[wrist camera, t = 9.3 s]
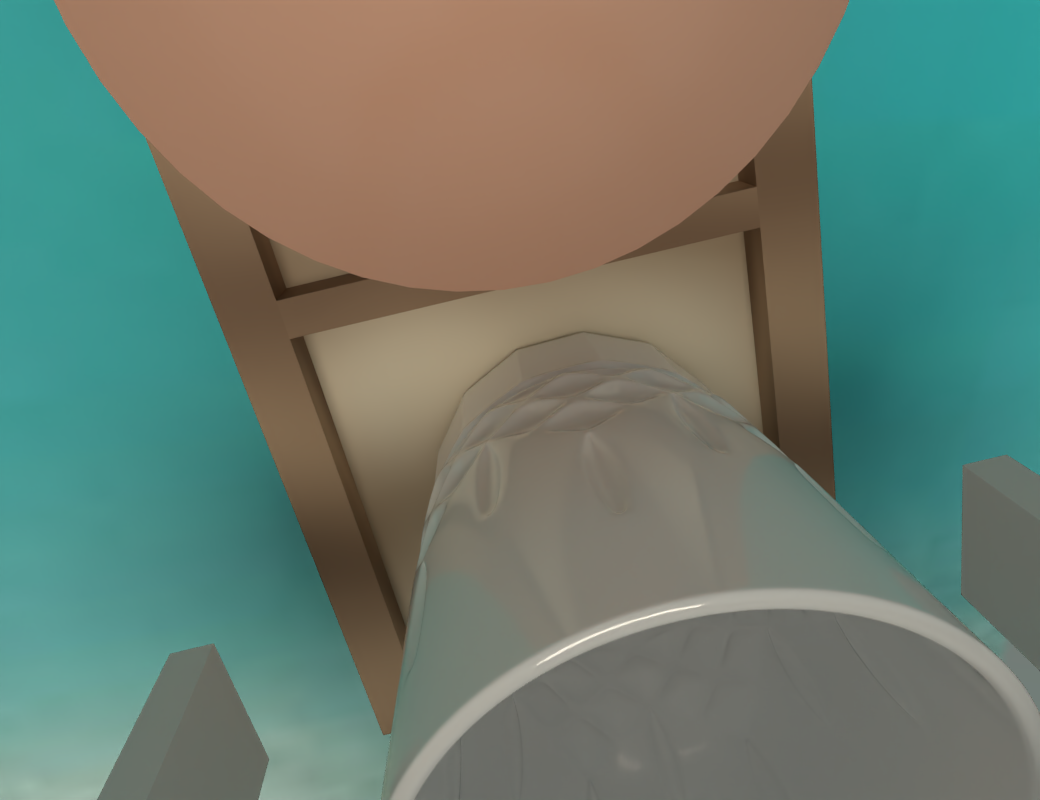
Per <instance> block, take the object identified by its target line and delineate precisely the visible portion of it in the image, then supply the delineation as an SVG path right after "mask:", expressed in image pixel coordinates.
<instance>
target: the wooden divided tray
mask: <svg viewBox="0 0 1040 800" xmlns="http://www.w3.org/2000/svg"><path fill="white" fill-rule="evenodd" d="M146 140H147V143H148V145H149V148H150V150H151V153H152V155H153V158H154V160H155V163H156V165H157V168H158V170H159V173H160V175H161V178H162V180H163V183H164V185H165V188H166V190H167V193H168V195H169V198H170V200H171V203H172V205H173V208H174V210H175V213H176V215H177V218H178V220H179V223H180V225H181V228H182V230H183V233H184V235H185V238H186V240H187V243H188V246H189V248H190V251H191V253H192V256H193V258H194V261H195V263H196V266H197V268H198V271H199V273H200V276H201V278H202V281H203V283H204V286H205V288H206V291H207V293H208V296H209V298H210V301H211V303H212V306H213V308H214V311H215V313H216V316H217V318H218V321H219V323H220V326H221V328H222V331H223V333H224V336H225V338H226V341H227V343H228V346H229V348H230V351H231V354H232V356H233V359H234V361H235V364H236V366H237V369H238V371H239V374H240V376H241V379H242V381H243V384H244V386H245V389H246V391H247V394H248V396H249V399H250V401H251V404H252V406H253V409H254V411H255V414H256V416H257V419H258V421H259V424H260V426H261V429H262V431H263V434H264V436H265V439H266V441H267V444H268V446H269V449H270V451H271V454H272V457H273V459H274V462H275V464H276V467H277V469H278V472H279V474H280V477H281V479H282V482H283V484H284V487H285V489H286V492H287V494H288V497H289V499H290V502H291V504H292V507H293V509H294V512H295V514H296V517H297V519H298V522H299V524H300V527H301V529H302V532H303V534H304V537H305V539H306V542H307V544H308V547H309V549H310V552H311V554H312V557H313V559H314V562H315V565H316V567H317V570H318V572H319V575H320V577H321V580H322V582H323V585H324V587H325V590H326V592H327V595H328V597H329V600H330V602H331V605H332V607H333V610H334V612H335V615H336V617H337V620H338V622H339V625H340V627H341V630H342V632H343V635H344V637H345V640H346V642H347V645H348V647H349V650H350V652H351V655H352V657H353V660H354V662H355V665H356V668H357V670H358V673H359V675H360V678H361V680H362V683H363V685H364V688H365V690H366V693H367V695H368V698H369V700H370V703H371V705H372V708H373V710H374V713H375V715H376V718H377V720H378V723H379V725H380V728H381V730H382V733H383V735H386V734H390V733H391V729H392V722H393V716H394V709H395V702H396V695H397V688H398V681H399V674H400V667H401V661H402V654H403V647H404V640H405V633H406V626H407V619H408V612H409V605H410V598H411V592H412V586H413V580H414V575H415V571H416V567H417V563H418V558H419V554H420V547H421V538H422V530H423V526H424V521H425V517H426V513H427V509H428V505H429V501H430V497H431V494H432V490H433V487H434V483H435V474H436V466H437V457H438V451H439V448H440V446H441V444H442V442H443V439H444V437H445V435H446V433H447V431H448V428H449V426H450V424H451V422H452V420H453V417H454V415H455V413H456V411H457V408H458V406H459V404H460V402H461V400H462V397H463V395H464V393H465V392H466V391H468V390H469V389H470V388H471V387H472V386H474V385H475V384H476V383H477V382H478V381H480V380H481V379H482V378H483V377H484V376H486V375H487V374H488V373H489V372H491V371H492V370H493V369H494V368H495V367H497V366H498V365H499V364H500V363H501V362H503V361H504V360H505V359H506V358H507V357H509V356H510V355H511V354H512V353H514V352H515V351H516V350H519V349H522V348H526V347H529V346H533V345H537V344H541V343H544V342H548V341H552V340H556V339H559V338H563V337H567V336H570V335H574V334H578V333H582V332H587V333H592V334H598V335H604V336H610V337H616V338H622V339H628V340H633V341H639V342H645V343H650V344H652V345H653V346H654V347H656V348H657V349H658V350H660V351H661V352H662V353H664V354H665V355H666V356H668V357H669V358H670V359H672V360H673V361H674V362H676V363H677V364H678V365H680V366H681V367H682V368H684V369H685V370H687V371H688V372H689V373H691V374H692V375H693V376H695V377H696V378H697V379H699V380H700V381H701V382H702V383H703V384H704V385H705V386H706V387H707V388H708V389H709V390H710V391H711V392H712V393H713V394H715V395H717V396H719V397H721V398H723V399H724V400H725V401H727V402H728V403H729V404H730V405H731V406H733V407H734V408H735V409H736V410H737V411H738V412H739V413H741V414H742V415H743V416H744V417H745V418H746V419H747V420H748V421H749V422H750V423H751V424H752V425H753V426H755V427H756V428H757V429H758V430H759V431H761V432H762V433H763V434H764V435H765V436H766V437H767V438H768V439H769V440H770V441H772V442H773V443H774V444H775V445H776V446H777V447H778V448H779V449H780V450H781V451H782V452H783V453H784V454H785V455H786V456H787V457H788V458H789V459H791V460H792V461H793V462H794V463H796V464H797V465H799V466H800V467H801V468H802V469H803V470H804V471H805V472H807V473H808V474H809V475H810V476H811V477H812V478H813V479H814V480H815V481H816V482H817V483H818V484H819V485H820V486H821V487H822V488H823V489H824V490H825V491H826V492H827V493H828V494H829V495H830V496H831V497H832V498H833V499H835V500H836V498H835V481H834V463H833V445H832V428H831V410H830V392H829V375H828V357H827V339H826V322H825V304H824V286H823V269H822V251H821V233H820V215H819V198H818V180H817V162H816V145H815V127H814V109H813V92H812V78H811V80H810V81H809V83H808V84H807V86H806V88H805V89H804V91H803V92H802V94H801V96H800V97H799V99H798V100H797V102H796V103H795V105H794V107H793V108H792V110H791V111H790V113H789V115H788V116H787V117H786V118H785V120H784V121H783V122H782V123H781V125H780V126H779V127H778V128H777V130H776V131H775V132H774V133H773V135H772V136H771V137H770V138H769V140H768V141H767V142H766V143H765V145H764V146H763V147H762V149H761V150H760V151H759V152H758V154H757V155H756V156H755V157H754V158H753V159H752V160H751V161H750V162H749V163H748V164H747V165H746V166H745V167H744V168H743V169H742V170H741V171H740V172H739V173H738V174H737V175H736V176H735V177H734V178H733V179H732V180H731V181H730V182H729V183H728V184H727V185H726V186H725V187H724V188H723V189H722V190H721V191H720V192H719V193H718V194H717V195H715V196H714V197H713V198H711V199H710V200H709V201H708V202H706V203H705V204H704V205H703V206H701V207H700V208H699V209H698V210H696V211H695V212H694V213H692V214H691V215H690V216H689V217H687V218H686V219H685V220H684V221H682V222H681V223H680V224H678V225H676V226H675V227H673V228H672V229H670V230H668V231H667V232H665V233H663V234H662V235H660V236H658V237H657V238H655V239H653V240H652V241H650V242H649V243H647V244H645V245H644V246H642V247H640V248H639V249H637V250H634V251H632V252H630V253H628V254H626V255H623V256H621V257H619V258H617V259H614V260H612V261H610V262H608V263H606V264H603V265H601V266H599V267H597V268H594V269H591V270H588V271H584V272H581V273H578V274H575V275H571V276H568V277H565V278H561V279H558V280H555V281H552V282H547V283H541V284H535V285H529V286H523V287H518V288H512V289H506V290H487V291H463V292H455V291H443V290H432V289H420V288H409V287H405V286H400V285H395V284H391V283H386V282H382V281H377V280H372V279H368V278H363V277H360V276H357V275H354V274H351V273H348V272H346V271H343V270H340V269H337V268H334V267H331V266H328V265H326V264H323V263H320V262H317V261H314V260H312V259H310V258H308V257H306V256H304V255H302V254H300V253H298V252H296V251H294V250H292V249H290V248H288V247H286V246H284V245H282V244H280V243H278V242H276V241H274V240H272V239H270V238H268V237H266V236H265V235H263V234H262V233H260V232H259V231H257V230H256V229H254V228H252V227H251V226H249V225H248V224H246V223H245V222H243V221H242V220H240V219H239V218H237V217H236V216H234V215H232V214H231V213H229V212H228V211H226V210H225V209H223V208H222V207H221V206H220V205H218V204H217V203H216V202H215V201H214V200H212V199H211V198H210V197H209V196H207V195H206V194H205V193H204V192H203V191H201V190H200V189H199V188H198V187H197V186H195V185H194V184H193V183H192V182H190V181H189V180H188V179H187V178H186V177H184V176H183V175H182V174H181V173H180V172H179V171H178V170H177V169H176V168H175V167H174V166H173V165H172V164H171V163H170V162H169V161H168V160H167V159H166V158H165V157H164V156H163V155H162V154H161V153H160V152H159V151H158V150H157V149H156V148H155V147H154V146H153V145H152V144H151V142H150V141H149V140H148V139H147V138H146Z"/></svg>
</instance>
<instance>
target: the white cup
mask: <svg viewBox="0 0 1040 800" xmlns="http://www.w3.org/2000/svg"><path fill="white" fill-rule="evenodd" d="M381 800H1040V713H1039V711H1038V708H1037V707H1036V705H1035V703H1034V701H1033V699H1032V697H1031V696H1030V694H1029V693H1028V691H1027V690H1026V688H1025V687H1024V685H1023V684H1022V683H1021V681H1020V680H1019V679H1018V677H1017V676H1016V675H1015V674H1014V673H1013V672H1012V670H1011V669H1010V668H1009V667H1008V666H1007V665H1006V664H1005V663H1004V662H1003V661H1002V660H1001V659H1000V658H999V657H998V656H997V655H996V654H995V653H994V652H993V651H992V650H991V649H989V648H988V647H987V646H986V645H985V644H984V643H983V642H982V641H981V640H980V639H979V638H978V637H977V636H976V635H975V634H974V633H973V632H972V631H971V630H969V629H968V628H967V627H966V626H965V625H964V624H963V623H962V622H961V621H960V620H959V619H958V618H957V617H956V616H955V615H954V614H953V613H952V612H951V611H950V610H949V609H947V608H946V607H945V606H944V605H943V604H942V603H941V602H940V601H939V600H938V599H937V598H936V597H935V596H934V595H933V594H932V593H931V592H930V591H929V590H928V589H927V588H926V587H925V586H923V585H922V584H921V583H920V582H919V581H918V580H917V579H916V578H915V577H914V576H913V575H912V574H911V573H910V572H909V571H908V570H907V569H906V568H905V567H904V566H903V565H902V564H901V563H900V562H898V561H897V560H896V559H895V558H894V557H893V556H892V555H891V554H890V553H889V552H888V551H887V550H886V549H885V548H884V547H883V546H882V545H881V544H880V543H879V542H878V541H877V540H876V539H875V538H874V537H873V536H872V535H871V534H870V533H869V532H868V531H867V530H866V529H865V528H864V527H862V526H861V525H860V524H859V523H858V522H857V521H856V520H855V519H854V518H853V517H852V516H851V515H850V514H849V513H848V512H847V511H846V510H845V509H844V508H843V507H842V506H841V505H840V504H839V503H838V502H837V501H836V500H835V499H833V498H832V497H831V496H830V495H829V494H828V493H827V492H826V491H825V490H824V489H823V488H822V487H821V486H820V485H819V484H818V483H817V482H816V481H815V480H814V479H813V478H812V477H811V476H810V475H809V474H808V473H807V472H805V471H804V470H803V469H802V468H801V467H800V466H799V465H797V464H796V463H794V462H793V461H792V460H791V459H789V458H788V457H787V456H786V455H785V454H784V453H783V452H782V451H781V450H780V449H779V448H778V447H777V446H776V445H775V444H774V443H773V442H772V441H770V440H769V439H768V438H767V437H766V436H765V435H764V434H763V433H762V432H761V431H759V430H758V429H757V428H756V427H755V426H753V425H752V424H751V423H750V422H749V421H748V420H747V419H746V418H745V417H744V416H743V415H742V414H741V413H739V412H738V411H737V410H736V409H735V408H734V407H733V406H731V405H730V404H729V403H728V402H727V401H725V400H724V399H723V398H721V397H719V396H717V395H715V394H713V393H712V392H711V391H710V390H709V389H708V388H707V387H706V386H705V385H704V384H703V383H702V382H701V381H700V380H699V379H697V378H696V377H695V376H693V375H692V374H691V373H689V372H688V371H687V370H685V369H684V368H682V367H681V366H680V365H678V364H677V363H676V362H674V361H673V360H672V359H670V358H669V357H668V356H666V355H665V354H664V353H662V352H661V351H660V350H658V349H657V348H656V347H654V346H653V345H652V344H650V343H645V342H639V341H633V340H628V339H622V338H616V337H610V336H604V335H598V334H592V333H587V332H582V333H578V334H574V335H570V336H567V337H563V338H559V339H556V340H552V341H548V342H544V343H541V344H537V345H533V346H529V347H526V348H522V349H519V350H516V351H515V352H514V353H512V354H511V355H510V356H509V357H507V358H506V359H505V360H504V361H503V362H501V363H500V364H499V365H498V366H497V367H495V368H494V369H493V370H492V371H491V372H489V373H488V374H487V375H486V376H484V377H483V378H482V379H481V380H480V381H478V382H477V383H476V384H475V385H474V386H472V387H471V388H470V389H469V390H468V391H466V392H465V393H464V395H463V397H462V400H461V402H460V404H459V406H458V408H457V411H456V413H455V415H454V417H453V420H452V422H451V424H450V426H449V428H448V431H447V433H446V435H445V437H444V439H443V442H442V444H441V446H440V448H439V451H438V457H437V466H436V474H435V483H434V487H433V490H432V494H431V497H430V501H429V505H428V509H427V513H426V517H425V521H424V526H423V530H422V538H421V547H420V554H419V558H418V563H417V567H416V571H415V575H414V580H413V586H412V592H411V598H410V605H409V612H408V619H407V626H406V633H405V640H404V647H403V654H402V661H401V667H400V674H399V681H398V688H397V695H396V702H395V709H394V716H393V722H392V729H391V736H390V742H389V749H388V756H387V762H386V769H385V775H384V782H383V788H382V795H381Z"/></svg>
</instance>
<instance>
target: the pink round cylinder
mask: <svg viewBox="0 0 1040 800" xmlns="http://www.w3.org/2000/svg"><path fill="white" fill-rule="evenodd" d="M54 1H55V3H56V5H57V7H58V10H59V12H60V14H61V16H62V18H63V20H64V22H65V24H66V26H67V28H68V29H69V31H70V33H71V34H72V36H73V37H74V39H75V41H76V42H77V44H78V46H79V47H80V49H81V50H82V52H83V54H84V55H85V57H86V58H87V60H88V62H89V63H90V65H91V67H92V68H93V70H94V71H95V73H96V75H97V76H98V78H99V80H100V81H101V82H102V84H103V85H104V86H105V88H106V89H107V90H108V91H109V93H110V94H111V95H112V97H113V98H114V99H115V100H116V102H117V103H118V104H119V106H120V107H121V108H122V109H123V111H124V112H125V113H126V115H127V116H128V117H129V118H130V120H131V121H132V122H133V124H134V125H135V126H136V127H137V129H138V130H139V131H140V132H141V133H142V134H143V135H144V136H145V137H146V138H147V139H148V140H149V141H150V142H151V144H152V145H153V146H154V147H155V148H156V149H157V150H158V151H159V152H160V153H161V154H162V155H163V156H164V157H165V158H166V159H167V160H168V161H169V162H170V163H171V164H172V165H173V166H174V167H175V168H176V169H177V170H178V171H179V172H180V173H181V174H182V175H183V176H184V177H186V178H187V179H188V180H189V181H190V182H192V183H193V184H194V185H195V186H197V187H198V188H199V189H200V190H201V191H203V192H204V193H205V194H206V195H207V196H209V197H210V198H211V199H212V200H214V201H215V202H216V203H217V204H218V205H220V206H221V207H222V208H223V209H225V210H226V211H228V212H229V213H231V214H232V215H234V216H236V217H237V218H239V219H240V220H242V221H243V222H245V223H246V224H248V225H249V226H251V227H252V228H254V229H256V230H257V231H259V232H260V233H262V234H263V235H265V236H266V237H268V238H270V239H272V240H274V241H276V242H278V243H280V244H282V245H284V246H286V247H288V248H290V249H292V250H294V251H296V252H298V253H300V254H302V255H304V256H306V257H308V258H310V259H312V260H314V261H317V262H320V263H323V264H326V265H328V266H331V267H334V268H337V269H340V270H343V271H346V272H348V273H351V274H354V275H357V276H360V277H363V278H368V279H372V280H377V281H382V282H386V283H391V284H395V285H400V286H405V287H409V288H420V289H432V290H443V291H455V292H463V291H487V290H506V289H512V288H518V287H523V286H529V285H535V284H541V283H547V282H552V281H555V280H558V279H561V278H565V277H568V276H571V275H575V274H578V273H581V272H584V271H588V270H591V269H594V268H597V267H599V266H601V265H603V264H606V263H608V262H610V261H612V260H614V259H617V258H619V257H621V256H623V255H626V254H628V253H630V252H632V251H634V250H637V249H639V248H640V247H642V246H644V245H645V244H647V243H649V242H650V241H652V240H653V239H655V238H657V237H658V236H660V235H662V234H663V233H665V232H667V231H668V230H670V229H672V228H673V227H675V226H676V225H678V224H680V223H681V222H682V221H684V220H685V219H686V218H687V217H689V216H690V215H691V214H692V213H694V212H695V211H696V210H698V209H699V208H700V207H701V206H703V205H704V204H705V203H706V202H708V201H709V200H710V199H711V198H713V197H714V196H715V195H717V194H718V193H719V192H720V191H721V190H722V189H723V188H724V187H725V186H726V185H727V184H728V183H729V182H730V181H731V180H732V179H733V178H734V177H735V176H736V175H737V174H738V173H739V172H740V171H741V170H742V169H743V168H744V167H745V166H746V165H747V164H748V163H749V162H750V161H751V160H752V159H753V158H754V157H755V156H756V155H757V154H758V152H759V151H760V150H761V149H762V147H763V146H764V145H765V143H766V142H767V141H768V140H769V138H770V137H771V136H772V135H773V133H774V132H775V131H776V130H777V128H778V127H779V126H780V125H781V123H782V122H783V121H784V120H785V118H786V117H787V116H788V115H789V113H790V111H791V110H792V108H793V107H794V105H795V103H796V102H797V100H798V99H799V97H800V96H801V94H802V92H803V91H804V89H805V88H806V86H807V84H808V83H809V81H810V80H811V78H812V76H813V75H814V73H815V72H816V70H817V68H818V67H819V65H820V63H821V61H822V59H823V57H824V55H825V52H826V50H827V48H828V46H829V44H830V42H831V40H832V38H833V36H834V34H835V32H836V30H837V28H838V26H839V24H840V22H841V20H842V18H843V15H844V13H845V10H846V8H847V5H848V2H849V0H54Z"/></svg>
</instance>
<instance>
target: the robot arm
mask: <svg viewBox="0 0 1040 800" xmlns="http://www.w3.org/2000/svg"><path fill="white" fill-rule="evenodd" d="M961 595H962V596H963V597H964V598H965V599H966V600H967V601H968V602H969V603H970V604H971V605H972V606H974V607H975V608H976V609H977V610H978V611H979V612H980V613H981V614H982V615H983V616H984V617H985V618H986V619H987V620H988V621H989V622H990V623H991V624H992V625H993V626H994V627H995V628H996V629H997V630H998V631H999V632H1000V633H1001V634H1002V635H1003V636H1004V637H1005V638H1006V639H1007V640H1008V641H1010V642H1011V643H1012V644H1013V645H1014V646H1015V647H1016V648H1017V649H1018V650H1019V651H1020V652H1021V653H1022V654H1023V655H1024V656H1025V657H1026V658H1027V659H1028V660H1029V661H1030V662H1031V663H1032V664H1033V665H1034V666H1035V667H1036V668H1037V669H1038V670H1039V671H1040V476H1039V475H1037V474H1036V473H1034V472H1033V471H1031V470H1030V469H1028V468H1027V467H1025V466H1023V465H1022V464H1020V463H1019V462H1017V461H1016V460H1014V459H1013V458H1011V457H1009V456H1008V455H1003V456H999V457H995V458H991V459H986V460H982V461H978V462H974V463H970V464H965V465H963V491H962V566H961ZM268 761H269V758H268V756H267V754H266V752H265V749H264V747H263V745H262V743H261V741H260V739H259V737H258V735H257V733H256V731H255V729H254V727H253V724H252V722H251V720H250V718H249V716H248V714H247V712H246V710H245V708H244V706H243V704H242V702H241V699H240V697H239V695H238V693H237V691H236V689H235V687H234V685H233V683H232V681H231V679H230V677H229V674H228V672H227V670H226V668H225V666H224V664H223V662H222V660H221V658H220V656H219V654H218V651H217V649H216V647H215V645H214V644H209V645H205V646H201V647H197V648H193V649H188V650H184V651H180V652H176V653H172V654H170V655H169V657H168V659H167V661H166V663H165V665H164V667H163V669H162V671H161V673H160V675H159V677H158V679H157V681H156V683H155V685H154V687H153V689H152V691H151V693H150V695H149V697H148V699H147V701H146V703H145V705H144V707H143V709H142V711H141V713H140V715H139V717H138V719H137V721H136V723H135V725H134V727H133V729H132V731H131V733H130V735H129V737H128V739H127V741H126V743H125V745H124V747H123V749H122V751H121V753H120V755H119V757H118V759H117V761H116V763H115V765H114V767H113V769H112V771H111V773H110V775H109V777H108V779H107V781H106V783H105V785H104V787H103V789H102V791H101V793H100V795H99V797H98V799H97V800H258V798H259V794H260V791H261V787H262V783H263V780H264V776H265V772H266V769H267V765H268Z"/></svg>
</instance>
